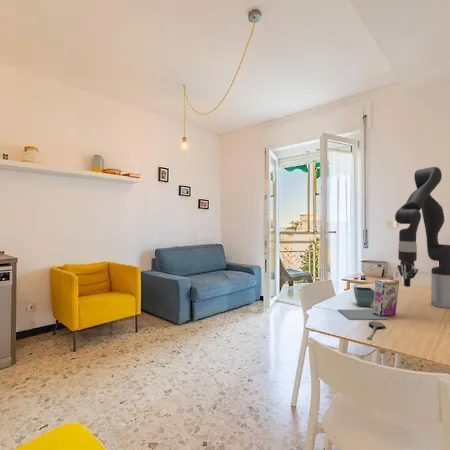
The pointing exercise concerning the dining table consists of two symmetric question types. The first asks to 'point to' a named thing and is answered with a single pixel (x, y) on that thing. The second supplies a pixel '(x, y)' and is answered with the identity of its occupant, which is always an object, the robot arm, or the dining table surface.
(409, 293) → the dining table surface
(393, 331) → the dining table surface
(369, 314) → the mat
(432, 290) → the robot arm
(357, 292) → the flower pot
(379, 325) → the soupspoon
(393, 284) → the candy bar box
